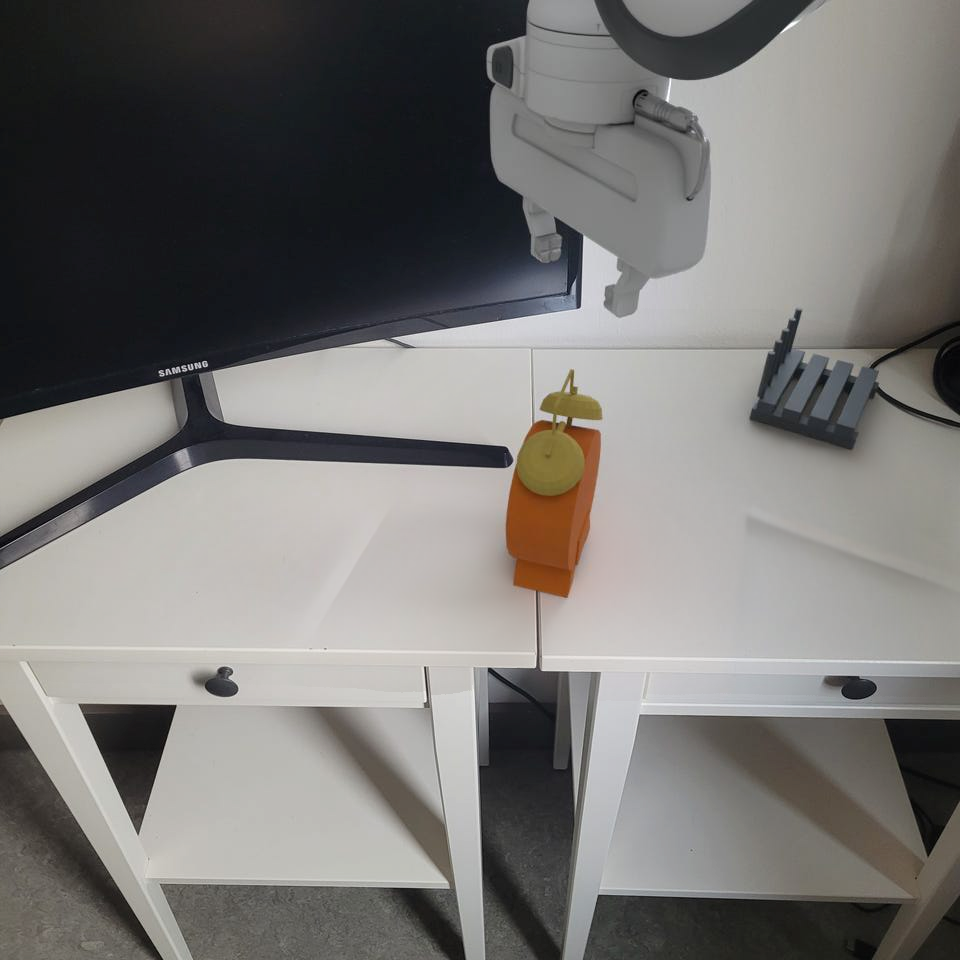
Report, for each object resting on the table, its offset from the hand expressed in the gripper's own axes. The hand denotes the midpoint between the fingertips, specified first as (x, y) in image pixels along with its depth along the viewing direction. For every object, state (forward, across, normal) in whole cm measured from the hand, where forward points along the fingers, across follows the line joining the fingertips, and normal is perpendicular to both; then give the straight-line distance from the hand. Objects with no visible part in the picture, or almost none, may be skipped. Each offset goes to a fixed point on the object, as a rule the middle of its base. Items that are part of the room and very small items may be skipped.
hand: (580, 283), depth 58 cm
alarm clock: (+31, +3, -2) cm, 32 cm away
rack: (+31, +10, -44) cm, 54 cm away
